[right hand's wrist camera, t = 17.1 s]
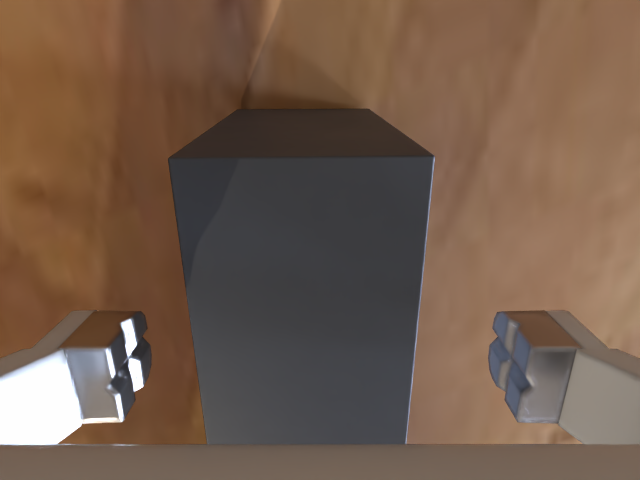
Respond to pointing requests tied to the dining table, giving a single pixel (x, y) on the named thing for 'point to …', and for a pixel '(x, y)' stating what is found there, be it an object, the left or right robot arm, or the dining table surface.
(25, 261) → the dining table surface
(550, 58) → the dining table surface
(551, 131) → the dining table surface
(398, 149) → the bar
